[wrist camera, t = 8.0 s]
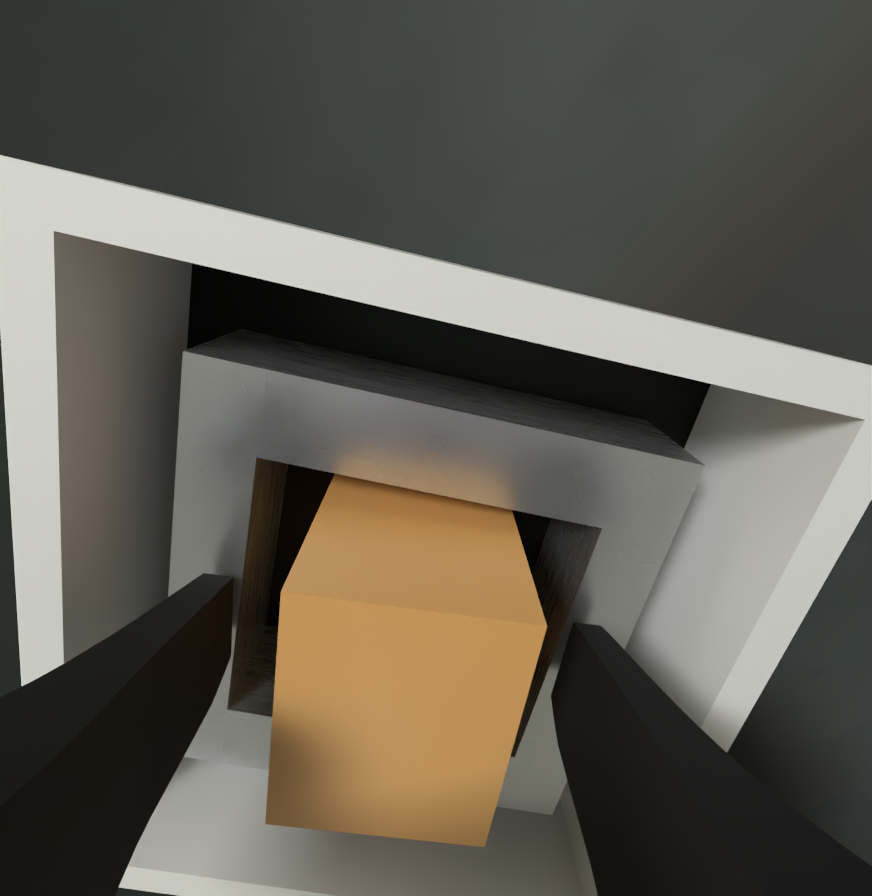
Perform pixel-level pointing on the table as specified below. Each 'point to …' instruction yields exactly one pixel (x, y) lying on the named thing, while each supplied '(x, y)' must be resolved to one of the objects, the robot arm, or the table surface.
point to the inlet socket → (419, 468)
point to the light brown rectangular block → (401, 665)
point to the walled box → (423, 294)
